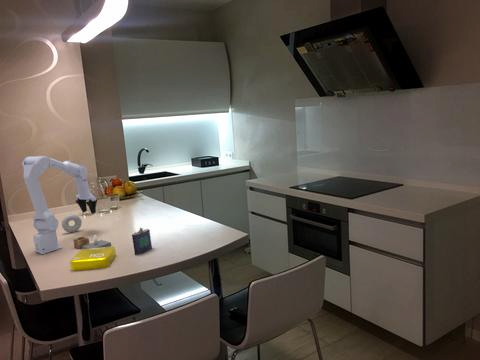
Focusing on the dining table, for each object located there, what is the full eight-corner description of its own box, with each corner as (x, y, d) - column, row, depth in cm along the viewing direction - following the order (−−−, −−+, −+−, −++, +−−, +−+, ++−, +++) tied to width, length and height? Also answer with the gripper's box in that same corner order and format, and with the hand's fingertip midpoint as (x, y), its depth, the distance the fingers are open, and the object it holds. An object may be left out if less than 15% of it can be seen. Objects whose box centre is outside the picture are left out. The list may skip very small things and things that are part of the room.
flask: (149, 247, 183) (146, 224, 181) (153, 248, 181) (151, 225, 179) (133, 254, 176) (129, 230, 174) (137, 255, 174) (134, 231, 172)
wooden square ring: (79, 249, 188) (78, 240, 188) (74, 247, 192) (73, 239, 191) (89, 245, 192) (88, 237, 191) (84, 244, 195) (83, 236, 195)
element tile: (117, 255, 177) (116, 244, 176) (107, 268, 163) (106, 257, 162) (82, 258, 177) (81, 247, 176) (70, 272, 162) (68, 260, 161)
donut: (63, 235, 214) (60, 216, 212) (62, 233, 216) (59, 215, 215) (83, 230, 219) (80, 212, 217) (82, 229, 221) (79, 211, 220)
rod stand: (91, 252, 183) (89, 239, 182) (82, 249, 188) (80, 237, 187) (111, 245, 190) (109, 233, 189) (101, 242, 195) (100, 231, 194)
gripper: (98, 186, 209) (104, 211, 213) (81, 184, 217) (87, 208, 221) (86, 191, 204) (92, 216, 208) (69, 188, 212) (76, 213, 216)
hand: (89, 212), depth 214 cm, fingers open, 7 cm apart
